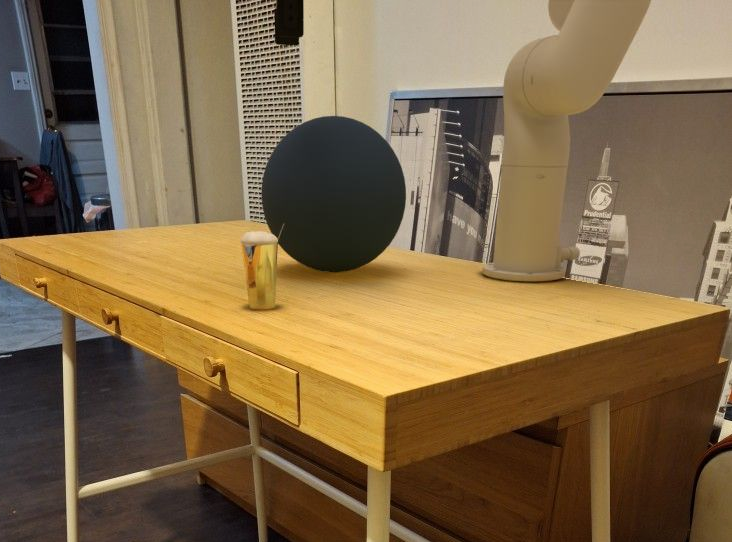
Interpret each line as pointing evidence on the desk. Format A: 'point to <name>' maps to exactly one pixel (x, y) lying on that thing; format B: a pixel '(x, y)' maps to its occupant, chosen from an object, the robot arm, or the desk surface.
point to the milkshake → (260, 268)
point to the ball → (333, 194)
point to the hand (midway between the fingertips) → (288, 40)
